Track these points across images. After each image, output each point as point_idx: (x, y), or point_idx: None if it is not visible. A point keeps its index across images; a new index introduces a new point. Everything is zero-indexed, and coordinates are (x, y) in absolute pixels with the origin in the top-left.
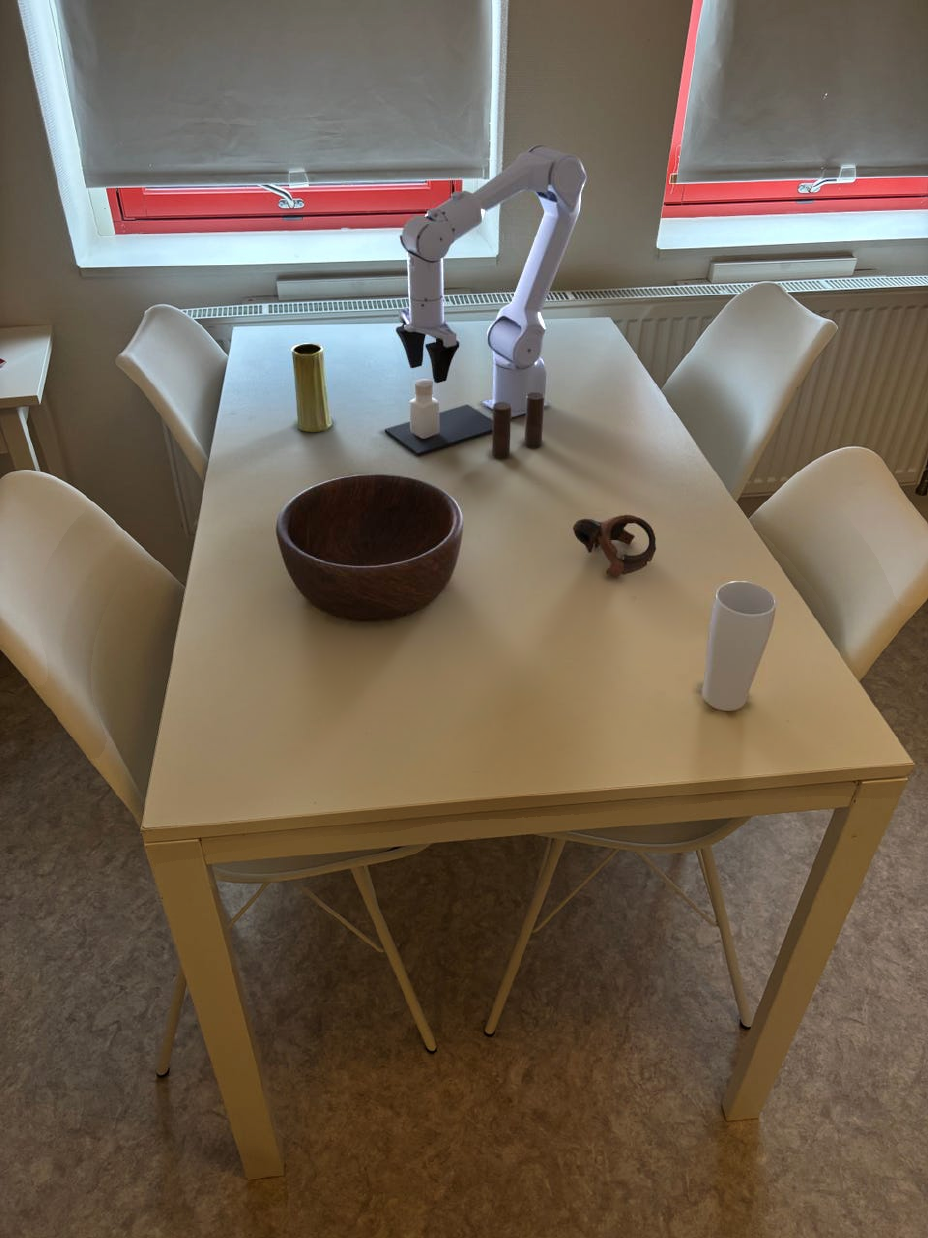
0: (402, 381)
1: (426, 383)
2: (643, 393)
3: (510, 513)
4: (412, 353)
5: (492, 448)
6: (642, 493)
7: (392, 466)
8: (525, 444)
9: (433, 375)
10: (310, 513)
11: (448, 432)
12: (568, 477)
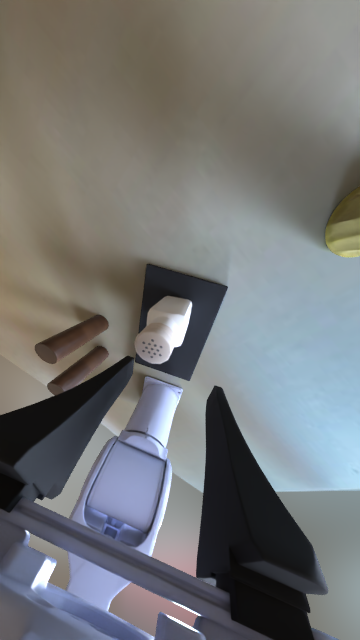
0: (291, 397)
1: (144, 348)
2: (117, 432)
3: (4, 234)
4: (217, 423)
5: (98, 319)
6: (10, 332)
7: (150, 213)
8: (102, 347)
9: (122, 365)
10: None
11: None
12: (45, 322)
